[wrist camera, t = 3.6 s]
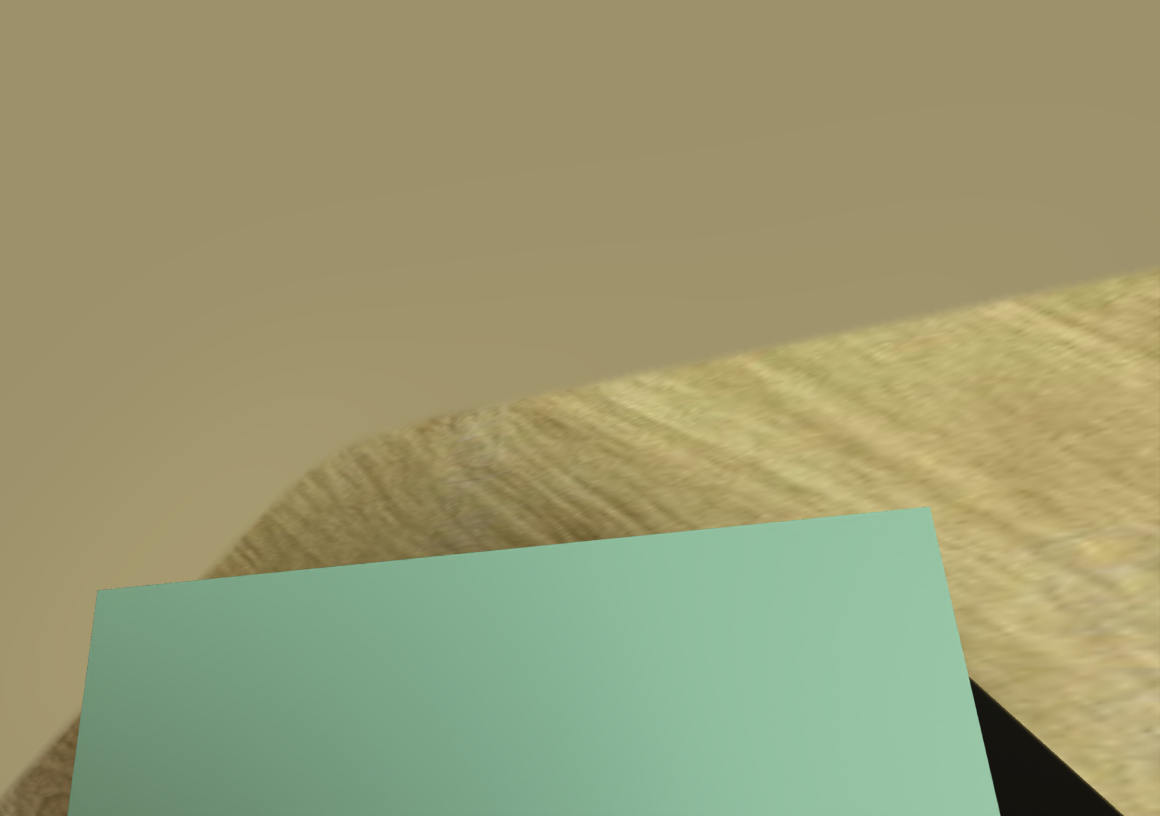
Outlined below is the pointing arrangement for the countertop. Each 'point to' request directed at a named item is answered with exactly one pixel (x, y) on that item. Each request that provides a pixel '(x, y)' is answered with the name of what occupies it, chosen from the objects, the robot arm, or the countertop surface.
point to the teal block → (548, 683)
